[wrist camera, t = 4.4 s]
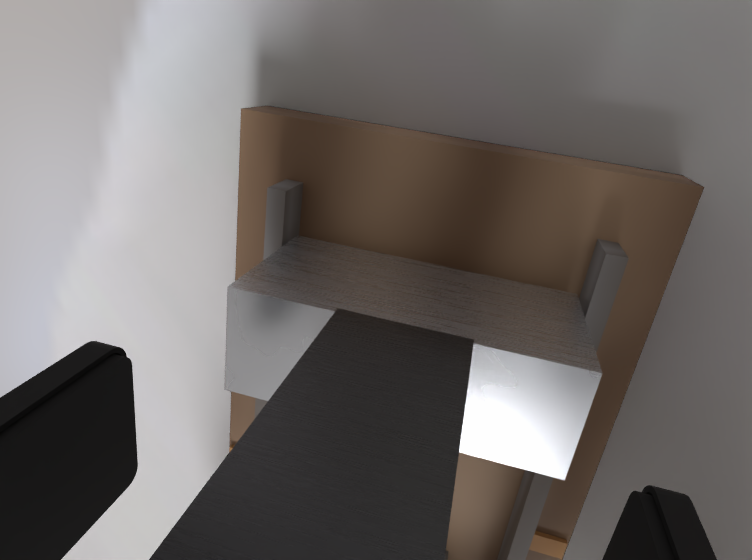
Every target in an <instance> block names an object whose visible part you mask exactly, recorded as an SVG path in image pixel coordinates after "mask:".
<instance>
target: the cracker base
mask: <svg viewBox="0 0 752 560" xmlns="http://www.w3.org/2000/svg"><path fill="white" fill-rule="evenodd" d="M703 189H704V187H703V186H701V185H699V184H697V183H695V182H694V181H692V180H690V179H688V178H686V177H685V176H683V175H677V174H671V173H665V172H659V171H653V170H647V169H641V168H635V167H629V166H623V165H617V164H611V163H606V162H600V161H594V160H588V159H582V158H576V157H570V156H564V155H558V154H552V153H546V152H540V151H534V150H528V149H522V148H516V147H510V146H504V145H498V144H492V143H486V142H480V141H474V140H468V139H462V138H456V137H450V136H444V135H438V134H432V133H427V132H421V131H415V130H409V129H403V128H397V127H391V126H385V125H379V124H373V123H367V122H361V121H355V120H349V119H343V118H337V117H331V116H325V115H319V114H313V113H307V112H301V111H295V110H289V109H283V108H277V107H271V106H261V107H251V108H242V109H241V130H240V159H239V188H238V217H237V246H236V275H235V281H236V280H237V279H239V278H240V277H241V276H243V275H244V274H245V273H247V272H248V271H250V270H251V269H252V268H254V267H255V266H256V265H258V264H259V263H260V262H262V261H263V260H265V259H266V258H267V257H269V256H270V255H271V254H273V253H274V252H275V251H277V250H278V249H279V248H281V247H282V246H284V245H285V244H286V243H288V242H289V241H290V240H292V239H293V238H294V237H296V236H302V237H307V238H312V239H316V240H321V241H326V242H331V243H336V244H340V245H345V246H350V247H355V248H359V249H364V250H369V251H374V252H379V253H383V254H388V255H393V256H398V257H402V258H407V259H412V260H417V261H422V262H426V263H431V264H436V265H441V266H445V267H450V268H455V269H460V270H465V271H469V272H474V273H479V274H484V275H489V276H493V277H498V278H503V279H508V280H512V281H517V282H522V283H527V284H532V285H536V286H541V287H546V288H551V289H555V290H560V291H565V292H570V293H575V294H577V295H578V298H579V301H580V304H581V307H582V310H583V314H584V317H585V320H586V323H587V326H588V329H589V332H590V336H591V339H592V342H593V345H594V348H595V351H596V354H597V358H598V361H599V364H600V367H601V370H602V376H601V379H600V382H599V385H598V388H597V390H596V393H595V396H594V399H593V402H592V405H591V407H590V410H589V413H588V416H587V419H586V421H585V424H584V427H583V430H582V433H581V436H580V438H579V441H578V444H577V447H576V450H575V453H574V455H573V458H572V461H571V464H570V467H569V469H568V472H567V475H566V478H565V480H561V479H558V478H554V477H550V476H546V475H543V474H539V473H535V472H531V471H528V470H524V469H520V468H517V467H513V466H509V465H505V464H502V463H498V462H494V461H490V460H487V459H483V458H479V457H475V456H472V455H468V454H464V453H460V452H459V456H458V464H457V471H456V478H455V486H454V493H453V501H452V508H451V516H450V523H449V531H448V538H447V545H446V553H445V560H562V559H563V557H564V554H565V551H566V549H567V546H568V543H569V541H570V538H571V536H572V533H573V530H574V528H575V525H576V522H577V520H578V517H579V515H580V512H581V509H582V507H583V504H584V501H585V499H586V496H587V494H588V491H589V488H590V486H591V483H592V480H593V478H594V475H595V473H596V470H597V467H598V465H599V462H600V459H601V457H602V454H603V452H604V449H605V446H606V444H607V441H608V438H609V436H610V433H611V431H612V428H613V425H614V423H615V420H616V417H617V415H618V412H619V410H620V407H621V404H622V402H623V399H624V396H625V394H626V391H627V389H628V386H629V383H630V381H631V378H632V375H633V373H634V370H635V367H636V365H637V362H638V360H639V357H640V354H641V352H642V349H643V346H644V344H645V341H646V339H647V336H648V333H649V331H650V328H651V325H652V323H653V320H654V318H655V315H656V312H657V310H658V307H659V304H660V302H661V299H662V297H663V294H664V291H665V289H666V286H667V283H668V281H669V278H670V276H671V273H672V270H673V268H674V265H675V262H676V260H677V257H678V255H679V252H680V249H681V247H682V244H683V241H684V239H685V236H686V234H687V231H688V228H689V226H690V223H691V220H692V218H693V215H694V213H695V210H696V207H697V205H698V202H699V199H700V197H701V194H702V192H703ZM267 402H268V401H266V400H262V399H258V398H254V397H251V396H247V395H243V394H239V393H236V392H232V391H231V420H230V449H229V453H230V451H231V450H232V449H233V447H234V446H235V445H236V443H237V442H238V441H239V439H240V438H241V437H242V435H243V434H244V433H245V431H246V430H247V429H248V427H249V426H250V425H251V423H252V422H253V421H254V419H255V418H256V417H257V415H258V414H259V413H260V411H261V410H262V409H263V407H264V406H265V405H266V403H267Z"/></svg>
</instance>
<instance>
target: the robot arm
mask: <svg viewBox="0 0 752 560" xmlns="http://www.w3.org/2000/svg"><path fill="white" fill-rule="evenodd" d="M137 466H138V463H137V445H136V427H135V409H134V391H133V373H132V363H131V360H130V359H129V358H127V357H126V353H125V351H124V350H123V349H122V348H120V347H116V346H112V345H108V344H104V343H100V342H97V341H91V342H88V343H86V344H84V345H83V346H81V347H80V348H78V349H77V350H75V351H73V352H72V353H70V354H69V355H67V356H66V357H64V358H62V359H61V360H59V361H58V362H56V363H54V364H53V365H51V366H50V367H48V368H47V369H45V370H43V371H42V372H40V373H39V374H37V375H36V376H34V377H32V378H31V379H29V380H28V381H26V382H24V383H23V384H21V385H20V386H18V387H17V388H15V389H13V390H12V391H10V392H9V393H7V394H6V395H4V396H2V397H1V398H0V560H61V559H62V558H63V557H64V556H65V555H66V553H67V552H68V551H69V550H70V549H71V548H72V547H73V546H74V545H75V544H76V543H77V542H78V541H79V539H80V538H81V537H82V536H83V535H84V534H85V533H86V532H87V531H88V530H89V529H90V528H91V526H92V525H93V524H94V523H95V522H96V521H97V520H98V519H99V518H100V517H101V516H102V515H103V513H104V512H105V511H106V510H107V509H108V508H109V507H110V506H111V505H112V504H113V503H114V502H115V501H116V499H117V498H118V497H119V496H120V495H121V494H122V493H123V492H124V491H125V490H126V489H127V488H128V486H129V485H130V484H131V483H132V481H133V479H134V477H135V475H136V472H137ZM602 560H717V559H716V557H715V554H714V552H713V550H712V547H711V545H710V543H709V540H708V538H707V536H706V533H705V531H704V529H703V526H702V524H701V522H700V520H699V517H698V515H697V513H696V510H695V508H694V506H693V503H692V501H691V500H690V498H689V497H688V496H687V495H685V494H682V493H678V492H674V491H670V490H666V489H662V488H659V487H655V486H651V485H649V486H646V487H645V488H644V489H643V491H642V492H638V491H633V492H632V493H631V494H630V496H629V498H628V501H627V503H626V505H625V508H624V510H623V512H622V515H621V517H620V519H619V522H618V524H617V526H616V529H615V531H614V534H613V536H612V538H611V541H610V543H609V545H608V548H607V550H606V552H605V555H604V557H603V559H602Z"/></svg>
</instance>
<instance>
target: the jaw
mask: <svg viewBox="0 0 752 560" xmlns="http://www.w3.org/2000/svg"><path fill="white" fill-rule="evenodd" d="M601 376H602V370H601V367H600V364H599V361H598V358H597V354H596V351H595V348H594V345H593V342H592V339H591V336H590V332H589V329H588V326H587V323H586V320H585V317H584V314H583V310H582V307H581V304H580V301H579V298H578V295H577V294H575V293H570V292H565V291H560V290H555V289H551V288H546V287H541V286H536V285H532V284H527V283H522V282H517V281H512V280H508V279H503V278H498V277H493V276H489V275H484V274H479V273H474V272H469V271H465V270H460V269H455V268H450V267H445V266H441V265H436V264H431V263H426V262H422V261H417V260H412V259H407V258H402V257H398V256H393V255H388V254H383V253H379V252H374V251H369V250H364V249H359V248H355V247H350V246H345V245H340V244H336V243H331V242H326V241H321V240H316V239H312V238H307V237H302V236H296V237H294V238H293V239H292V240H290V241H289V242H288V243H286V244H285V245H284V246H282V247H281V248H279V249H278V250H277V251H275V252H274V253H273V254H271V255H270V256H269V257H267V258H266V259H265V260H263V261H262V262H260V263H259V264H258V265H256V266H255V267H254V268H252V269H251V270H250V271H248V272H247V273H245V274H244V275H243V276H241V277H240V278H239V279H237V280H236V281H235V282H233V283H232V284H230V285H229V286H228V292H227V327H226V362H225V390H228V391H232V392H236V393H239V394H243V395H247V396H251V397H254V398H258V399H262V400H266V401H268V402H267V403H266V405H265V406H264V407H263V409H262V410H261V411H260V413H259V414H258V415H257V417H256V418H255V419H254V421H253V422H252V423H251V425H250V426H249V427H248V429H247V430H246V431H245V433H244V434H243V435H242V437H241V438H240V439H239V441H238V442H237V443H236V445H235V446H234V447H233V449H232V450H231V451H230V453H229V454H228V455H227V457H226V458H225V459H224V461H223V462H222V463H221V465H220V466H219V467H218V469H217V470H216V471H215V473H214V474H213V475H212V476H211V478H210V479H209V480H208V482H207V483H206V484H205V486H204V487H203V488H202V490H201V491H200V492H199V494H198V495H197V496H196V498H195V499H194V500H193V502H192V503H191V504H190V506H189V507H188V508H187V510H186V511H185V512H184V514H183V515H182V516H181V518H180V519H179V520H178V522H177V523H176V524H175V526H174V527H173V528H172V530H171V531H170V532H169V534H168V535H167V536H166V538H165V539H164V540H163V542H162V543H161V544H160V546H159V547H158V548H157V550H156V551H155V552H154V554H153V555H152V556H151V558H150V559H149V560H445V553H446V545H447V538H448V531H449V523H450V516H451V508H452V501H453V493H454V486H455V478H456V471H457V464H458V456H459V452H460V453H464V454H468V455H472V456H475V457H479V458H483V459H487V460H490V461H494V462H498V463H502V464H505V465H509V466H513V467H517V468H520V469H524V470H528V471H531V472H535V473H539V474H543V475H546V476H550V477H554V478H558V479H561V480H565V478H566V475H567V472H568V469H569V467H570V464H571V461H572V458H573V455H574V453H575V450H576V447H577V444H578V441H579V438H580V436H581V433H582V430H583V427H584V424H585V421H586V419H587V416H588V413H589V410H590V407H591V405H592V402H593V399H594V396H595V393H596V390H597V388H598V385H599V382H600V379H601Z"/></svg>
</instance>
